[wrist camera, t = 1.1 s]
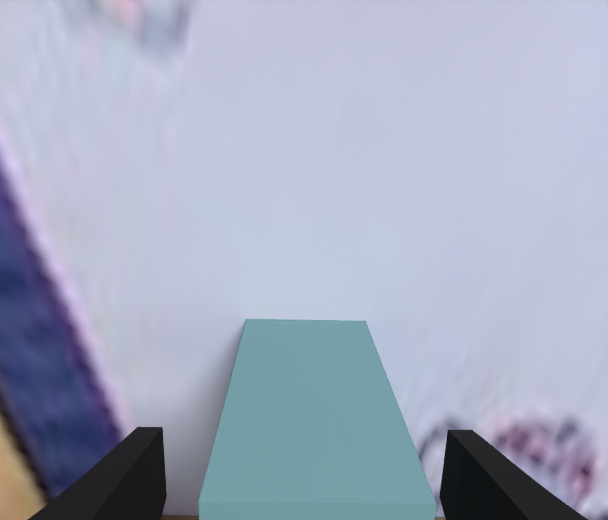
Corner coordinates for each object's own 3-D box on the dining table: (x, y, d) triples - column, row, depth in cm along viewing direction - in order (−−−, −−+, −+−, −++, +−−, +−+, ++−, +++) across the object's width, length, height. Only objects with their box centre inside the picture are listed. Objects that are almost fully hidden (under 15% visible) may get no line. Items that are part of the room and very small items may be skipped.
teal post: (365, 320, 15) (435, 503, 8) (358, 424, 17) (415, 676, 9) (246, 318, 15) (198, 502, 8) (247, 423, 16) (205, 677, 9)
